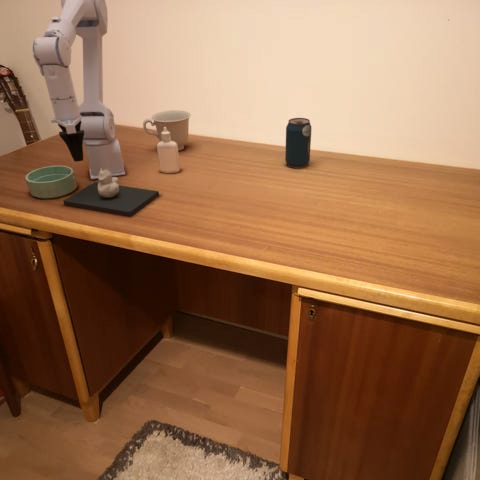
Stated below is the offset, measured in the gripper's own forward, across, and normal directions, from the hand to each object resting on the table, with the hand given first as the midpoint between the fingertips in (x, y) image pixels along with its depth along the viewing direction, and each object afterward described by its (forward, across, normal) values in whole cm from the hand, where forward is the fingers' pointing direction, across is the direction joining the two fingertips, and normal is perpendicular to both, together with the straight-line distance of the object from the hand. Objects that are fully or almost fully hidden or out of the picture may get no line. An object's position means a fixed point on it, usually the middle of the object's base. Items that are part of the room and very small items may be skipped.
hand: (77, 155), depth 116 cm
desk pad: (+10, +7, +6) cm, 13 cm away
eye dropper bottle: (+10, -6, +24) cm, 27 cm away
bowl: (+10, -6, -8) cm, 14 cm away
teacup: (+10, -25, +28) cm, 39 cm away
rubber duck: (+9, +7, +6) cm, 13 cm away
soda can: (+10, +4, +59) cm, 60 cm away
